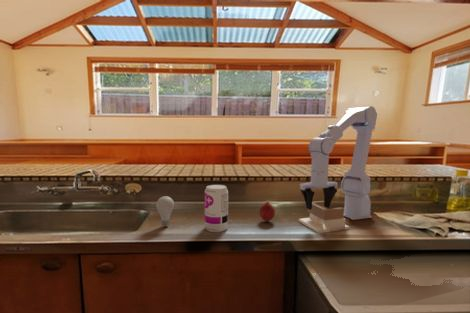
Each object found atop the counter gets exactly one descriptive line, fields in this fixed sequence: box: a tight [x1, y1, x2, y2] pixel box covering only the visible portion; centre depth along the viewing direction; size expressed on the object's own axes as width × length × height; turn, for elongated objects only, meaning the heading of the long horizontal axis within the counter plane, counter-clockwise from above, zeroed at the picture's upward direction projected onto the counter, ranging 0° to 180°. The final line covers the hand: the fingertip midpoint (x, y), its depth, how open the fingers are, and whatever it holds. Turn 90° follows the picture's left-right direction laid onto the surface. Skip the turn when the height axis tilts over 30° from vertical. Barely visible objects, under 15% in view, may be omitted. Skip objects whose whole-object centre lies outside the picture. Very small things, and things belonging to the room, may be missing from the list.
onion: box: [258, 200, 276, 223], centre depth 97 cm, size 6×6×8 cm
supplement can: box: [204, 184, 229, 233], centre depth 90 cm, size 8×8×15 cm
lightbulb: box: [155, 195, 175, 227], centre depth 91 cm, size 6×6×11 cm
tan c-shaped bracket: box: [306, 200, 345, 220], centre depth 94 cm, size 8×10×4 cm
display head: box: [298, 212, 350, 234], centre depth 94 cm, size 13×12×4 cm
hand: (317, 207), depth 93 cm, fingers open, 7 cm apart
